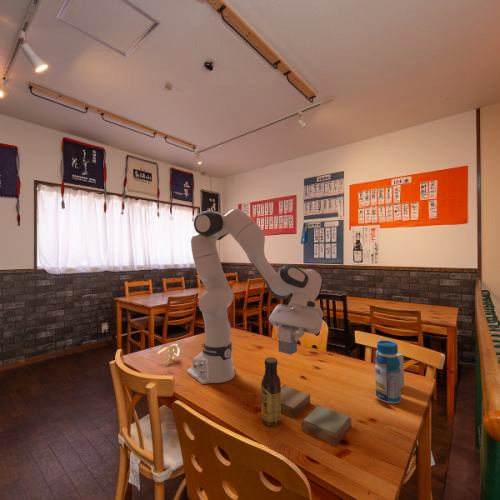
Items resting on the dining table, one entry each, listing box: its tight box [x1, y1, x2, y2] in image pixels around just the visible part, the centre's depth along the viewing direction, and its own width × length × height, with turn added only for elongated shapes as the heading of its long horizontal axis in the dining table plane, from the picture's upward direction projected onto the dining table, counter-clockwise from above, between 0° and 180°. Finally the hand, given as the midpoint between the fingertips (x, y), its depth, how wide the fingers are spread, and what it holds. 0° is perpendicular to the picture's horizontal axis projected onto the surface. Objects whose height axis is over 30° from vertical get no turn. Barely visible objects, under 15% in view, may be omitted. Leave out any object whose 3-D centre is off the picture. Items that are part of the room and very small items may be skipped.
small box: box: [375, 349, 405, 389], centre depth 110 cm, size 8×6×13 cm
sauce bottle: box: [260, 356, 282, 427], centre depth 87 cm, size 7×6×20 cm
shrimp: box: [157, 341, 183, 366], centre depth 137 cm, size 11×15×9 cm
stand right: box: [300, 405, 352, 447], centre depth 84 cm, size 11×11×3 cm
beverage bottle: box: [374, 340, 402, 405], centre depth 100 cm, size 8×8×20 cm
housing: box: [277, 327, 298, 356], centre depth 97 cm, size 5×4×8 cm
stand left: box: [281, 385, 311, 418], centre depth 97 cm, size 11×11×3 cm
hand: (286, 338), depth 97 cm, fingers closed on housing, 5 cm apart
